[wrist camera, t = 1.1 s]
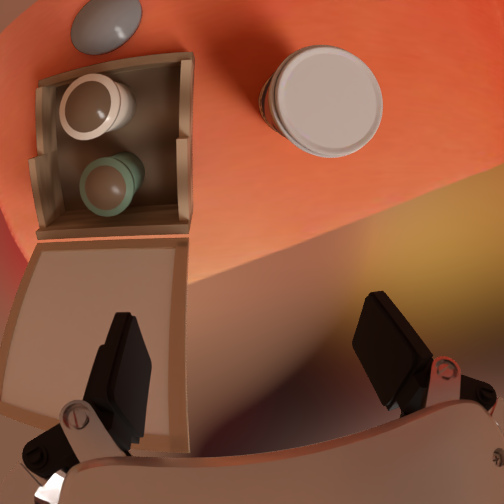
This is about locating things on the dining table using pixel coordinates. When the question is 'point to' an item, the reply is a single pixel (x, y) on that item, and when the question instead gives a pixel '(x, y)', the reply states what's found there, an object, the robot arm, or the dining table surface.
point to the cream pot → (96, 106)
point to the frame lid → (98, 330)
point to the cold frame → (122, 140)
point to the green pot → (111, 183)
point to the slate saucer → (105, 25)
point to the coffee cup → (323, 101)
